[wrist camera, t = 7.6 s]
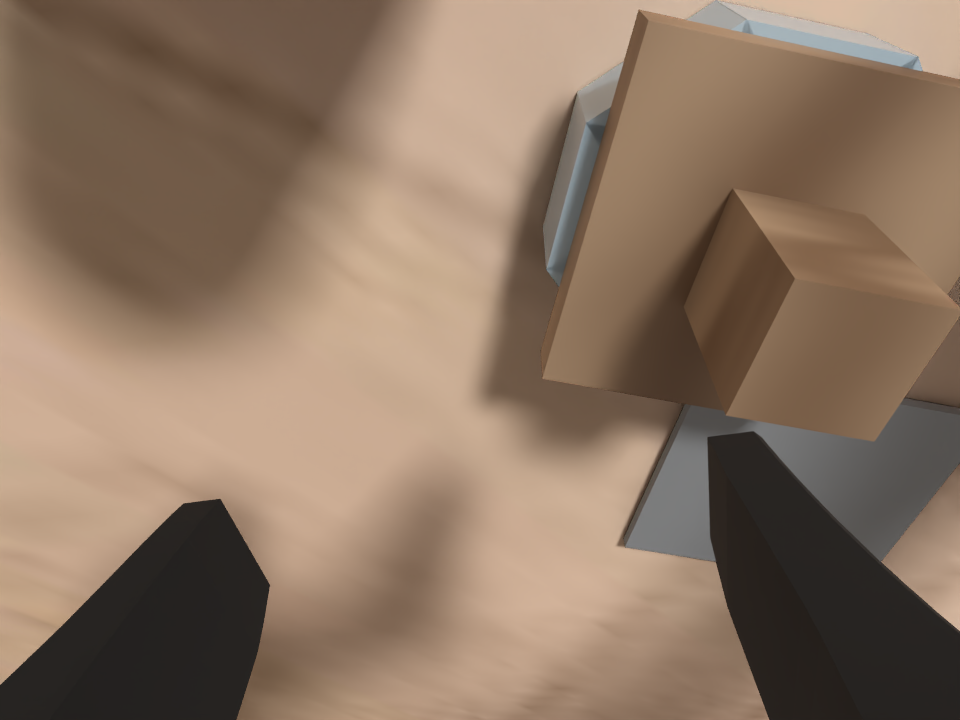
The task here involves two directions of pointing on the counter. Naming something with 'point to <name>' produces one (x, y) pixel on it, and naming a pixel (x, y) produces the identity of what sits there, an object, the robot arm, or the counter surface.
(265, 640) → the counter surface
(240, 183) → the counter surface
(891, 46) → the bowl
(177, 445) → the counter surface
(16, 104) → the counter surface
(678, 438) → the mat
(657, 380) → the lid
